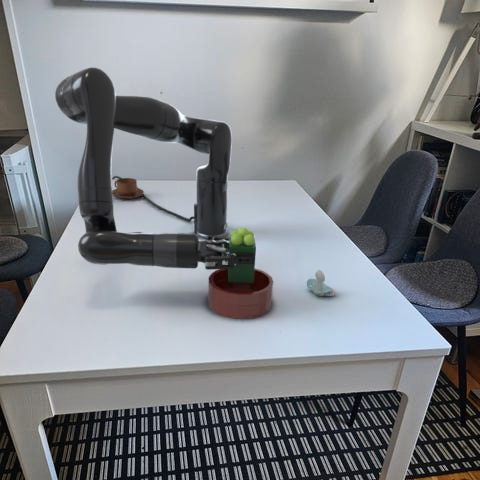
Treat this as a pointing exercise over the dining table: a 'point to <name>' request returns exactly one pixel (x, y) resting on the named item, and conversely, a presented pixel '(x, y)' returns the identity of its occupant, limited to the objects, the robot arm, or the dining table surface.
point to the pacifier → (319, 285)
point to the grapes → (242, 244)
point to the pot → (240, 295)
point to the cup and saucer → (126, 189)
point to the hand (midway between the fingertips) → (253, 253)
